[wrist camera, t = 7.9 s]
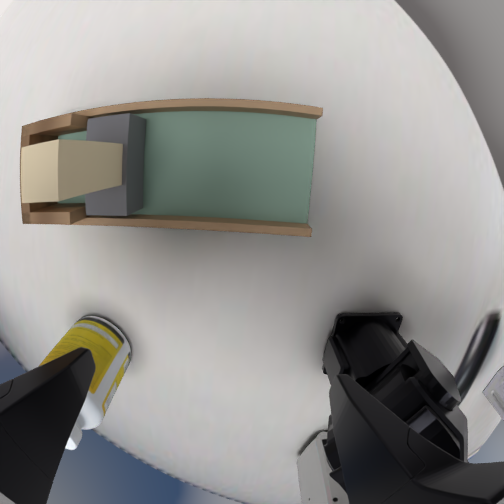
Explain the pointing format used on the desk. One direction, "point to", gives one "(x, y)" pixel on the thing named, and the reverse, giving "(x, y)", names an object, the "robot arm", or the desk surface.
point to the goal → (45, 133)
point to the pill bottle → (107, 368)
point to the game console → (496, 392)
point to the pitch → (220, 165)
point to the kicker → (90, 167)
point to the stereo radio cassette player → (318, 476)
